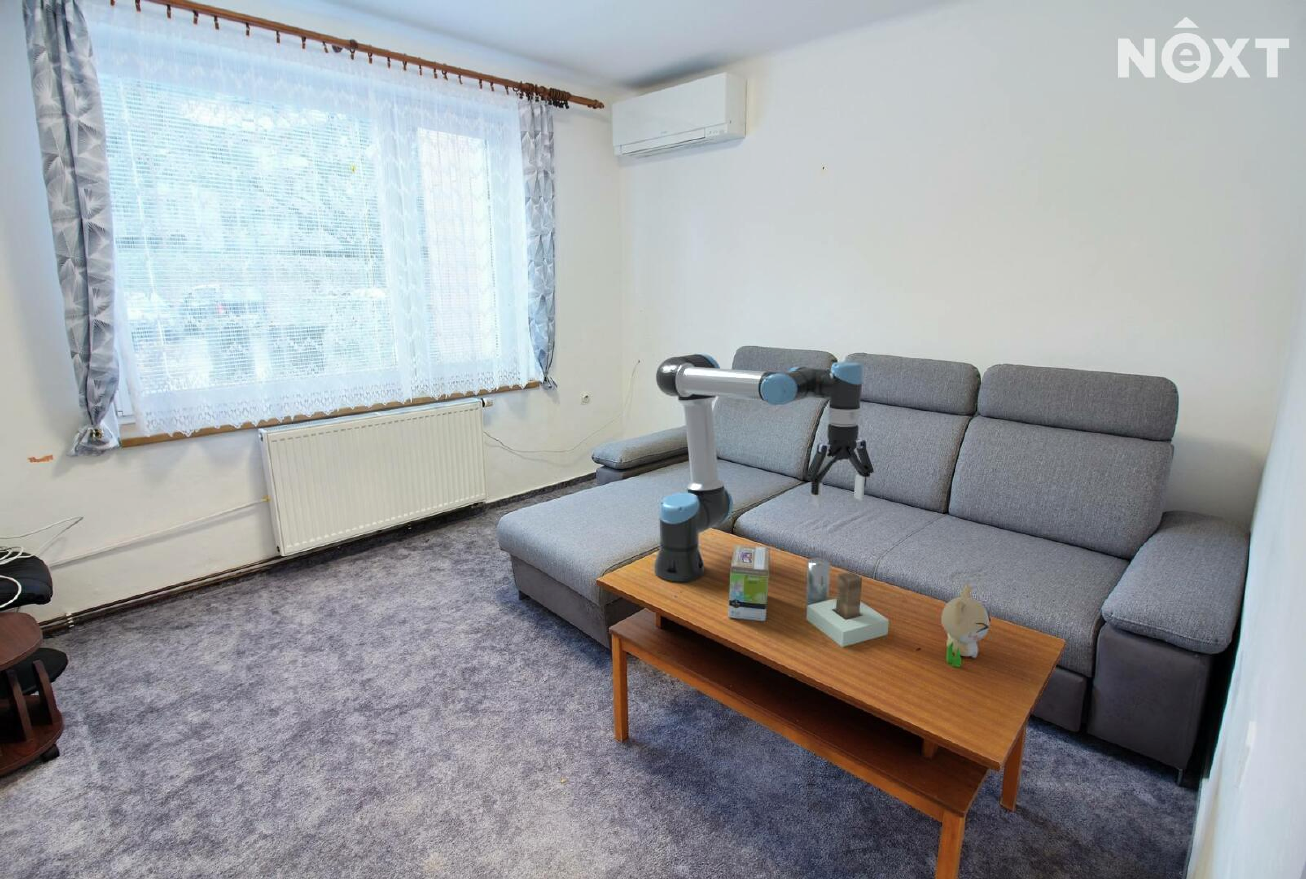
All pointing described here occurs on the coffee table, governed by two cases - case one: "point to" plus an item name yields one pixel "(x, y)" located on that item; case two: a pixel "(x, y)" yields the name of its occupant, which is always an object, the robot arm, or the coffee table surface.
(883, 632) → the socket block
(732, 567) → the tea box
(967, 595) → the kitten
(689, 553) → the robot arm
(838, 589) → the square peg
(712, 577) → the coffee table surface
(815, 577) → the round peg
